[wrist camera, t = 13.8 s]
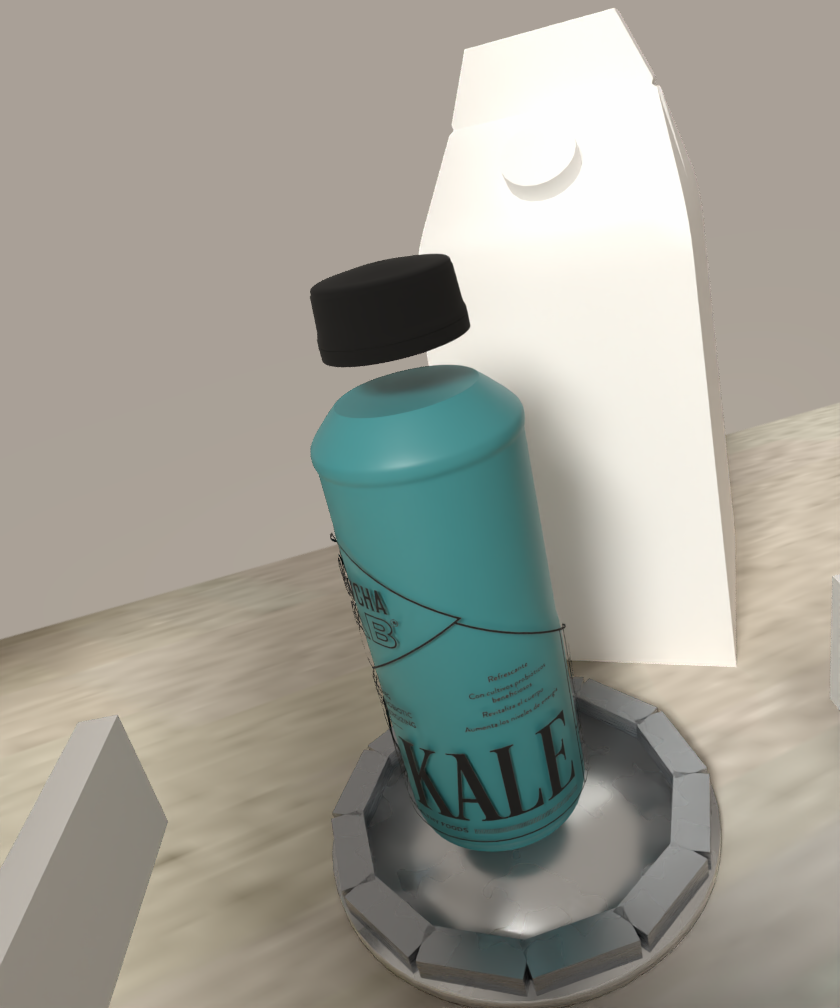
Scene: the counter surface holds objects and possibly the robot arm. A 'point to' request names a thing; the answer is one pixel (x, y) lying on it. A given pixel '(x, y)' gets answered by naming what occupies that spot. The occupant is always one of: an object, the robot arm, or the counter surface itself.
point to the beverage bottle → (447, 561)
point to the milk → (596, 332)
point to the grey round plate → (537, 871)
